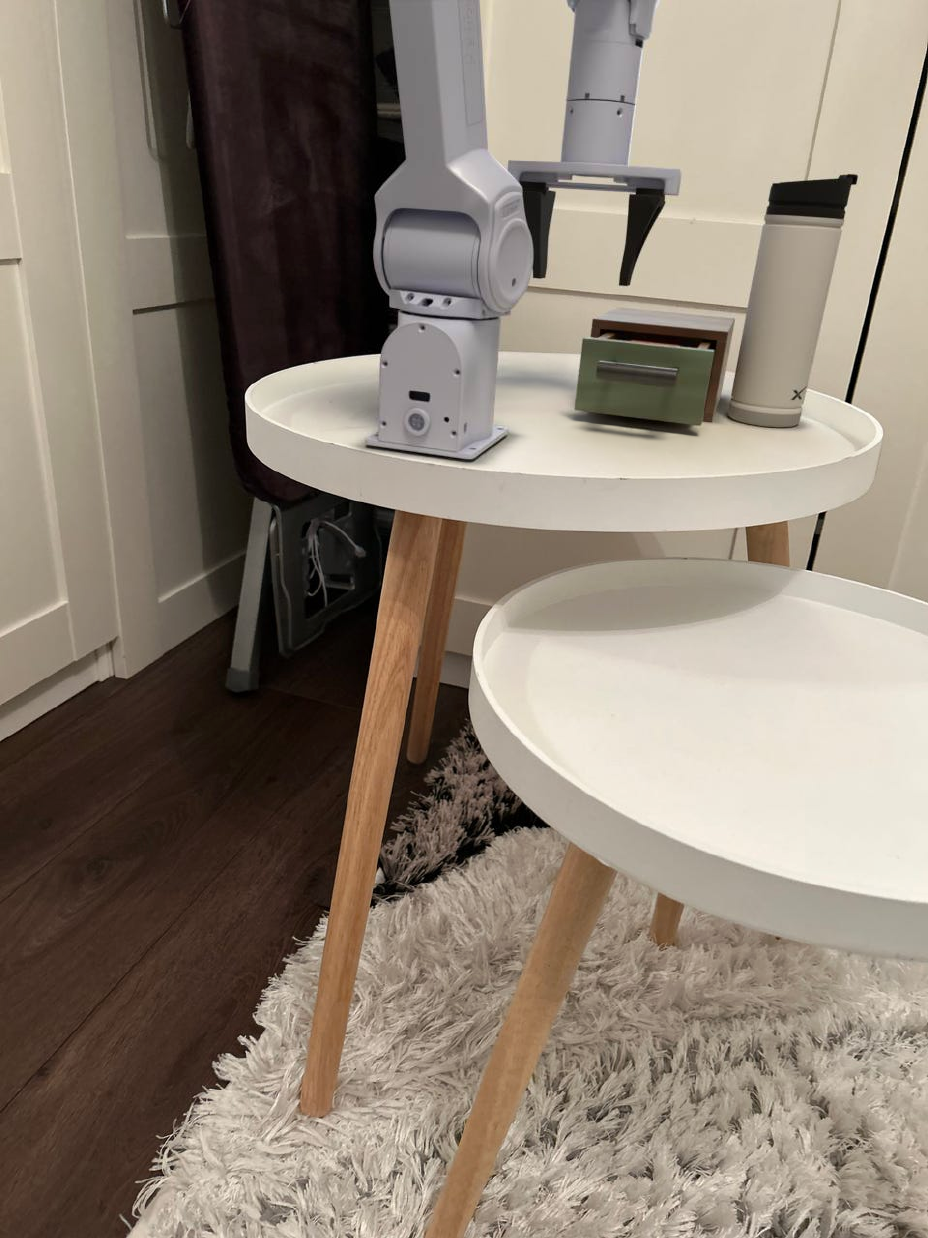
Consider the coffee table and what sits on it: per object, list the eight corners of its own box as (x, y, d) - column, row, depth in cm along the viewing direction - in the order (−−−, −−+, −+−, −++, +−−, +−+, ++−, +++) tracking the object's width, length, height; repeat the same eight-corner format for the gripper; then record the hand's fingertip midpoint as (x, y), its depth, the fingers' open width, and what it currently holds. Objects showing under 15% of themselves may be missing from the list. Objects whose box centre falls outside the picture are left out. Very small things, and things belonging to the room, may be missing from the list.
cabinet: (712, 421, 77) (728, 331, 74) (582, 405, 80) (592, 318, 77) (720, 397, 89) (735, 318, 86) (607, 383, 92) (617, 307, 89)
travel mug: (812, 430, 77) (871, 173, 68) (737, 425, 76) (786, 167, 68) (790, 415, 82) (841, 176, 74) (719, 410, 82) (763, 171, 74)
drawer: (696, 437, 67) (709, 358, 64) (562, 420, 69) (570, 344, 67) (711, 400, 82) (722, 335, 79) (600, 387, 84) (608, 324, 82)
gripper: (694, 113, 74) (668, 286, 79) (527, 107, 78) (514, 273, 83) (686, 102, 68) (659, 290, 73) (505, 97, 71) (493, 276, 77)
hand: (581, 281), depth 78 cm, fingers open, 7 cm apart
